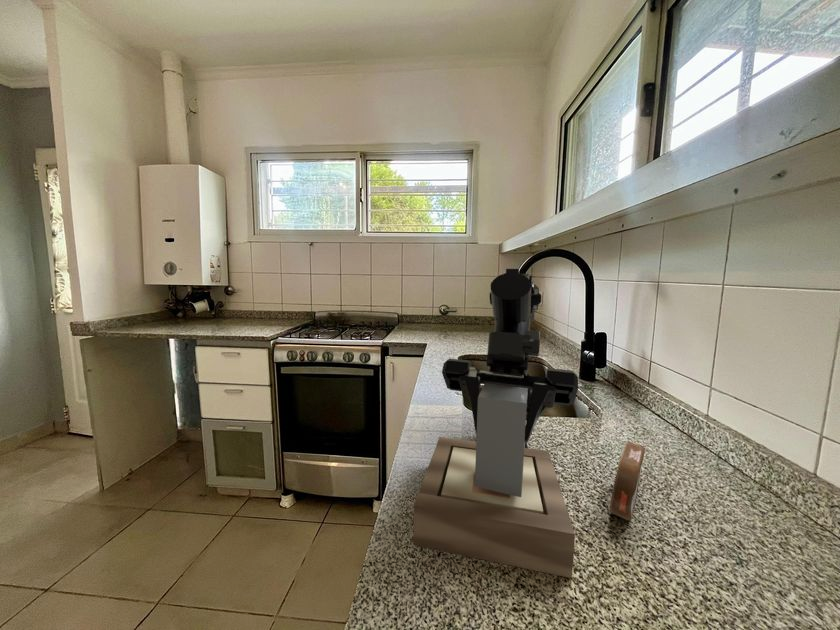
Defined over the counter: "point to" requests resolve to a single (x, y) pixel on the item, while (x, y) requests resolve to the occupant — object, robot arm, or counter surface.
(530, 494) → the trapdoor plate
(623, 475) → the tin
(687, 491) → the counter surface
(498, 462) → the grey rectangular block
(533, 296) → the robot arm
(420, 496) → the frame
